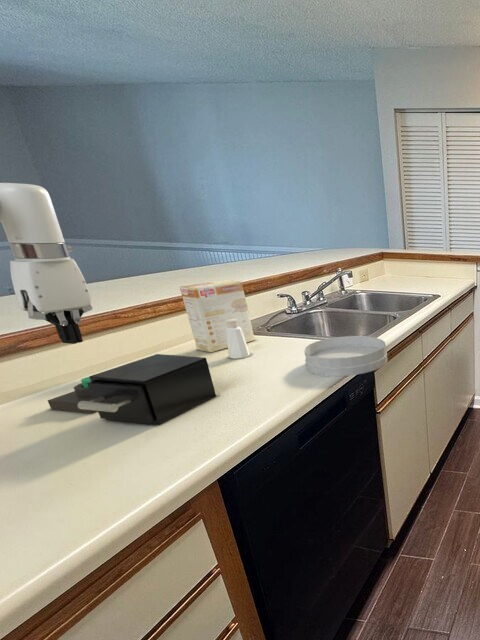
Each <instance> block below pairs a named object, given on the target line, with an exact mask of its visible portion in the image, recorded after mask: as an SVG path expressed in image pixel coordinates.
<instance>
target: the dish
mask: <svg viewBox="0 0 480 640" xmlns="http://www.w3.org/2000/svg"><path fill="white" fill-rule="evenodd" d="M386 346H387V345H386V342H385V341H384V340H383V339H382V338H378V337H374V336H365V335H346V336H344V335H343V336H337V337H330V338H324V339H321V340H317V341H314V342H312V343H310V344H308V345H307V346H305V348H304V350H303V352H304V356H305V360H304V362H305V367H306V370H307V371H308V372H310V373H312V374H313V375H318V376H322V377H323V376H324V377H349V376H358V375H362V374H367V373H371V372H373V371H376V370H378V369H381V368H382V367H384V366H386V364H387V363H388V352H387V347H386Z"/></svg>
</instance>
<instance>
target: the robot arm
mask: <svg viewBox="0 0 480 640" xmlns="http://www.w3.org/2000/svg"><path fill="white" fill-rule="evenodd" d="M0 223H1V225H2V228H3V230H4V233H5V235H6V239H7V242H8V245H9V247H10V250H11V252H12V255H13V257H14V260H9V269H10V278H11V282H12V286H13V290H14V294H15V297H16V300H17V303H18V305H19V307H20V309H21V311H24V312H27V315H28V319H30V320H36V321H37V320H38V321H39V320H40V321H46V322H48V323H49V324H50V325H52V326H54V327H55V330H56V332H57V335H58V338H59V340H61V343H62V344H70V345H75V344H78V343H83V342H84V340H83V335H82V332H81V329H80V326H79V324H80V323H81V318H82V316H83V315H84V314H86V313H88V312H91V311H92V310H93V306H92V305H91V304H92V296H91V292H90V290H89V289H90V288H89V287H88V284H87V281H86V279H85V277H84V275H83V273H82V271H81V269H80V267H79V265H78V264H77V263H76V261H75V259H74V258H71V256H70V253H72V252H73V251H74V249H73V246H71V245H69V244H66V242H65V238H64V235H63V233H62V229H61V226H60V223H59V220H58V217H57V213H56V211H55V207H54V204H53V202H52V198H51V196H50V194H49V192H48V190H47V189H46V188H44V187H43V186H41V185H37V184H31V183H30V184H29V183H20V182H19V183H17V182H0Z"/></svg>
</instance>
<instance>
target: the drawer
mask: <svg viewBox="0 0 480 640" xmlns="http://www.w3.org/2000/svg"><path fill="white" fill-rule="evenodd" d="M87 385H88V387H89V390H90V392H91V395H92V397H93V400H91V401H80V402H79V403H78V408H79V409H85V410H95V411H96V412H98V416H99V417H100V419H101V420H106V419H111V420H110V421H115V420H121V421H120V422H125V421H131V422H130V423H135V422H141V423H140V424H145V423H152V422H154V421H155V419H154V416H153V413H152V410H151V407H150V404H149V401H148V398H147V395H146V392H145V389H144V386H143V384H132V383H120V382H108V381H104V382H99V381H92V382H89V383H87Z"/></svg>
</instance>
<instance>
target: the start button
mask: <svg viewBox="0 0 480 640" xmlns="http://www.w3.org/2000/svg"><path fill="white" fill-rule="evenodd" d="M80 382H81V383H82V384H83V387H84V388H88V385H87V383H89V382H91V380H90V377H89V376H86V377H84V378H81V380H80Z"/></svg>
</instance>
